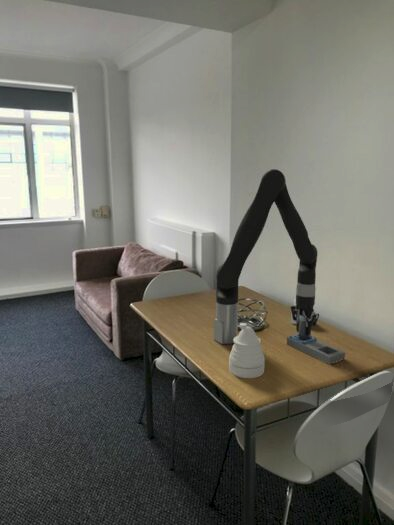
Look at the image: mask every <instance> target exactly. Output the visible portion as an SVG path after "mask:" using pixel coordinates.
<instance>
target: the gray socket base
mask: <svg viewBox="0 0 394 525" xmlns="http://www.w3.org/2000/svg"><path fill="white" fill-rule="evenodd" d="M299 338H300V337H299V336H298V333H296V334H293V335H290V336H288V337H286V345H288V346H290V347H292V348H294V349H296V350H298V351H300V352H302V353H303V354H304V353H305V354H306V355H308V356H310V355H311V357H312V356H313V357H312V358H314V357H315V359H316V358H317V359H316V360H318V359H320V360H319V361H321V360H322V361H321V362H323V361H324V362H323V363H325V362H326V363H325V364H327V363H328V364H327V365H329V364H330V365H332V364H331V363H333V362H336V361H339V360H341V359H344V358H345V359H346V351H343V350H341V349H339V348H337V347H335V346H332V345H330V344H328V343H325V342H323V341H321V340H318V339H317V338H316V337H315V336H312V333H311V334H310V335H308V340H305V341H302V340H300V339H299ZM327 353H328V354H327ZM345 359H344V360H345ZM339 362H340V361H339ZM336 363H337V362H336ZM333 364H334V363H333Z"/></svg>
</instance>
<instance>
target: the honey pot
mask: <svg viewBox="0 0 394 525" xmlns="http://www.w3.org/2000/svg"><path fill="white" fill-rule="evenodd" d="M239 328H240V329H241V330H240V331H239V333H238V334H237V336H236V337H235V338H234V339H233V341H234V343H233V345H232V348H231V351H230V354H229V360H228V361H229V362H228V370H229V372H230V374H232V375H234V376H235V377H239V378H244V379H255V378H258V377H260V376H263V374H264V372H265V360H266V359H265V355H264V351H263V348H262V346H261V343H262V340H261V338H260V337H258V336H257V333H256V332H255V330H254V329H253V328H252V327H250V326H247V323H245V322H240V323H239Z"/></svg>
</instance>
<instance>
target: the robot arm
mask: <svg viewBox="0 0 394 525" xmlns="http://www.w3.org/2000/svg"><path fill="white" fill-rule="evenodd" d="M286 182H287V181H286V176H285V175H284V173H283V172H282V171H281V170H279V169H276V168H275V169H274V168H272V169H269V170H266V172H264V174H263V175H262V177H261V179H260V183H259V185H258V188H257V192H256V194H255V196H254V198H253V201H252V202H251V204H250V206H248V208H247V210H246V212H245V213H244V216H243V217H242V219H241V222H240V224H239V225H238V227H237V230H236V232H235V235H234V238H233V240H232V243H231V247H230V251H229V252H228V255H227V257H226V258H225V261H224V262H223V263H222V264H220V266H218V268H217V271H216V275H215V276H216V294H215V306H216V307H215V318H214V319H213V340H214V341H216V342H217V343H218V344H221V345H224V344H225V345H226V344H227V345H230V344H234V341H233V339H234V338H235V337H236V336H238V322H239V319H238V318H239V279H240V277H241V273H242V271H243V268H244V266H245V264H246V261H247V259H248V257H249V256H250V255H251V253H252V251H253V249H254V248H255V245H256V244H257V242H258V241H259V238H260V236H261V234H262V233H263V230H264V228H265V225H266V223H267V220H268V217H269V215H270V210H271V209H272V206H273V204H275V205H276V208H277V210H278V213H279V215H280V217H281V218H280V219H281V220H282V222H283V226H284V228H285V230H286V231H287V234H288V236H289V238H290V240H291V241H292V245H293V247H294V251H295V254H296V256H297V259H298V260H299V262H298V263H299V267H298V270H297V279H296V280H297V283H296V287H295V288H296V290H295V299H296V304H297V305H295V306H294V305H291V306H290V311H291V312H292V317H293V320H295V321H296V323H297V325H296V332H297V333H298V332H299V315H302V316H304V321H305V324H306V327H305V335H306V336H307V335H310V334H311V335H312V327H316V326H317V322H318V320H319V317H320V314H319V313H316V312H315V309H314V306H315V302H316V271H317V269H316V268H317V261H318V249H317V247H316V246H315V245H314V244H312V242H311V240H310V238H309V232H308V229H307V228H306V225H305V223H304V221H303V219H302V217H301V216H300V213H299V212H298V210H297V208H296V206H295V205H294V202H293V201H292V199H291V196H290V194H289V189H288V187H287V184H286ZM295 314H296V317H295ZM307 318H309V319H307ZM308 321H309V324H308Z"/></svg>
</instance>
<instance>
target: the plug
mask: <svg viewBox="0 0 394 525" xmlns="http://www.w3.org/2000/svg"><path fill="white" fill-rule="evenodd" d="M307 319H309V318H307ZM308 324H309V321H308ZM305 327H306V324H305V321H304V316H302V315H299V332H297V334H298V336H299V337H300V338H299V339H300V340H302V341H305V340H308V335H307V336H306V335H305Z"/></svg>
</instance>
